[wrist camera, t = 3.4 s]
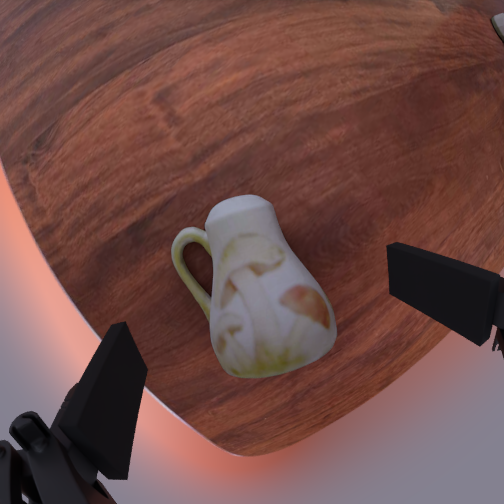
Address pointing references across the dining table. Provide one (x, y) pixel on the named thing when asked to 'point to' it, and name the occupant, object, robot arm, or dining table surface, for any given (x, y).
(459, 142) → the dining table surface
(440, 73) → the dining table surface
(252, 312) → the mug
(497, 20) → the bottle
